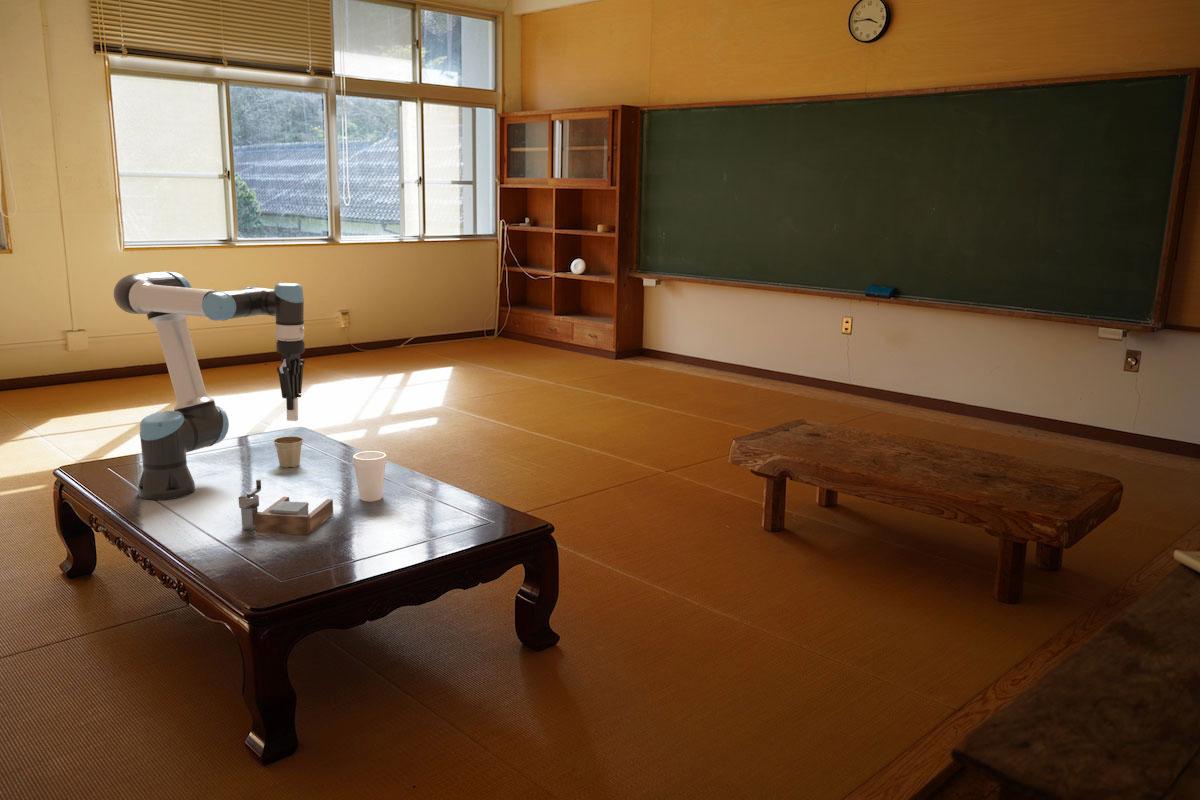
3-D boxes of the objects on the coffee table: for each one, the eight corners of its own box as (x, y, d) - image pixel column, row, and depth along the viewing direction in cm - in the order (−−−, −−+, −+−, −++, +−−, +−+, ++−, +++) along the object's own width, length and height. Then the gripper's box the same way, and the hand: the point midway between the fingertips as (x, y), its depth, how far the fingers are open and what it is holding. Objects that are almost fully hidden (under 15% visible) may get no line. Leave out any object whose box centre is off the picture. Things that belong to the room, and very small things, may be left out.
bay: (255, 532, 242) (254, 513, 241) (284, 510, 259) (283, 493, 258) (307, 535, 241) (307, 516, 239) (333, 512, 258) (332, 495, 257)
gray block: (272, 531, 243) (270, 509, 242) (283, 522, 250) (282, 501, 249) (298, 532, 242) (297, 511, 241) (309, 523, 249) (308, 502, 248)
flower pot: (299, 469, 297) (298, 443, 295) (270, 469, 297) (268, 443, 295) (308, 461, 306) (307, 436, 304) (280, 461, 306) (279, 435, 304)
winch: (236, 530, 243) (234, 489, 240) (252, 518, 252) (250, 479, 249) (255, 531, 242) (252, 490, 240) (270, 519, 251) (268, 480, 249)
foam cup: (393, 496, 273) (392, 453, 271) (374, 504, 265) (372, 461, 262) (368, 491, 277) (366, 449, 275) (347, 499, 269) (346, 457, 266)
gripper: (292, 343, 252) (295, 426, 257) (312, 336, 265) (314, 415, 270) (266, 341, 253) (269, 424, 258) (287, 334, 266) (290, 413, 271)
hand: (292, 420), depth 264 cm, fingers closed
